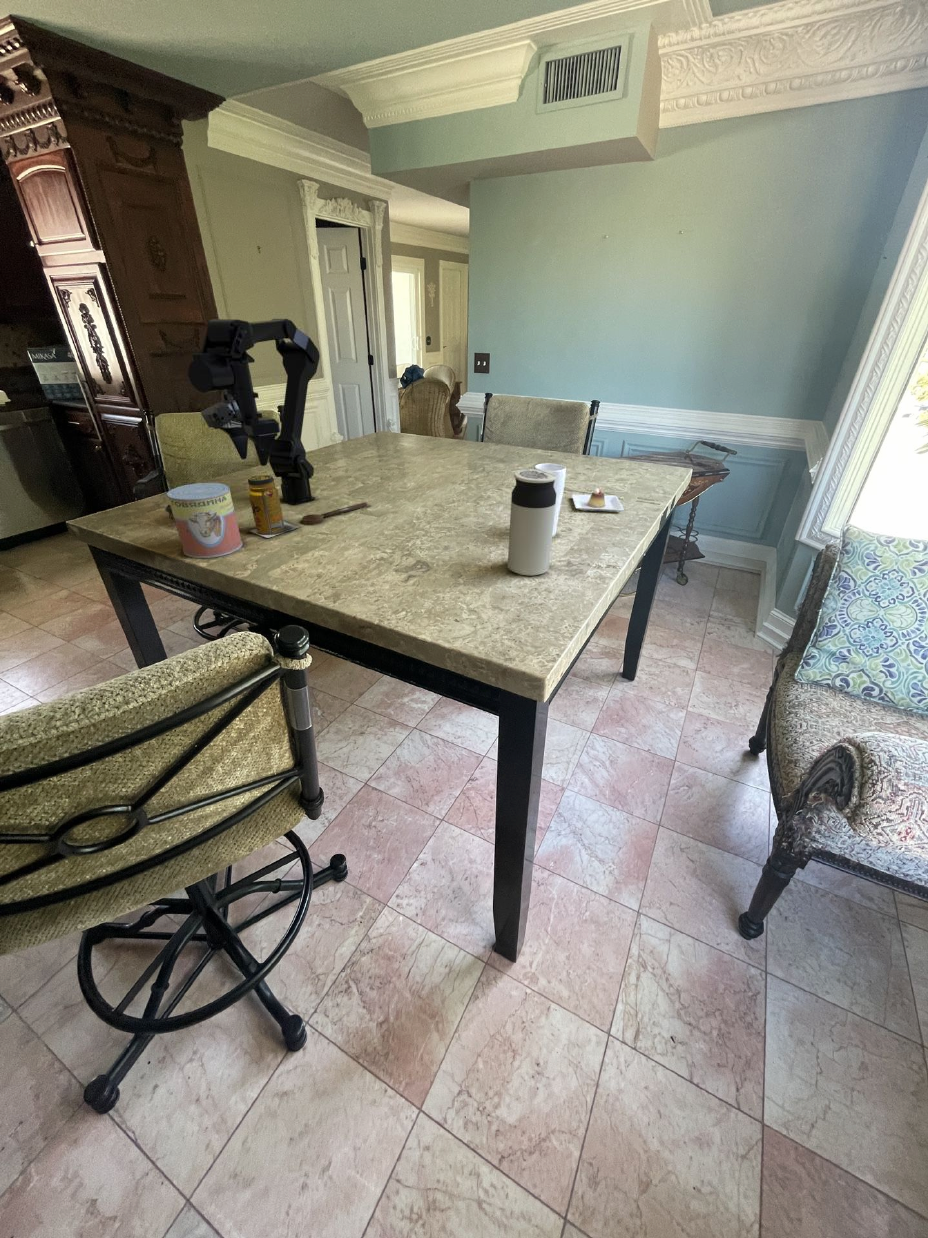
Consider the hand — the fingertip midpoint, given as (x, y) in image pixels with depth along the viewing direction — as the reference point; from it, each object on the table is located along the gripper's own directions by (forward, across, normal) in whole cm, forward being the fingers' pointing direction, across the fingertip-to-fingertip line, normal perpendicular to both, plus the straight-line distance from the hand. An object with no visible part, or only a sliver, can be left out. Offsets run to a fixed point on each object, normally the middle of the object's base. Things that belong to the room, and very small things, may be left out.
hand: (253, 462), depth 115 cm
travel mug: (+13, +64, +20) cm, 68 cm away
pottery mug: (+13, -9, -12) cm, 20 cm away
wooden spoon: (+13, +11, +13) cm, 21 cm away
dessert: (+13, +54, +64) cm, 85 cm away
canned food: (+13, +10, -17) cm, 24 cm away
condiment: (+13, +10, -3) cm, 17 cm away
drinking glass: (+13, +56, +37) cm, 68 cm away
